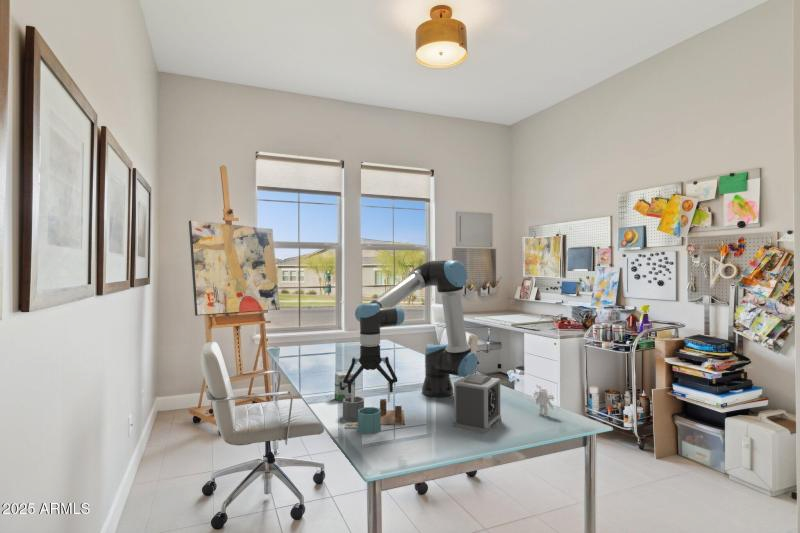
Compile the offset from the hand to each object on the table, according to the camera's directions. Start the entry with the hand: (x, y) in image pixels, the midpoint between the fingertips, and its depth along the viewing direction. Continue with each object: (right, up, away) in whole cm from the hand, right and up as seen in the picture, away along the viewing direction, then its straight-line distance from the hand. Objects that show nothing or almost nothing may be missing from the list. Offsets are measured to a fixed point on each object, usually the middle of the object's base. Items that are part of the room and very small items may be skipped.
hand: (370, 401), depth 160 cm
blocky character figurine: (+70, -11, +15) cm, 72 cm away
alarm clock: (+41, -11, +6) cm, 43 cm away
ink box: (-15, -11, +37) cm, 42 cm away
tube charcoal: (-8, -10, +13) cm, 18 cm away
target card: (-7, -10, +3) cm, 12 cm away
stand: (+7, -10, +11) cm, 17 cm away
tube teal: (0, -10, -1) cm, 10 cm away
